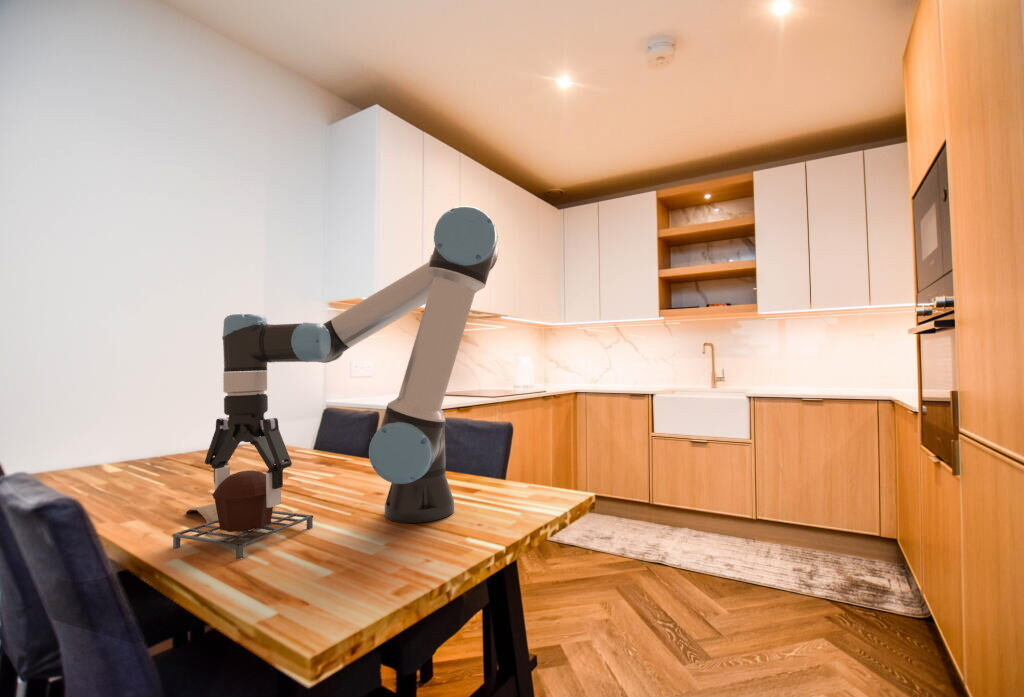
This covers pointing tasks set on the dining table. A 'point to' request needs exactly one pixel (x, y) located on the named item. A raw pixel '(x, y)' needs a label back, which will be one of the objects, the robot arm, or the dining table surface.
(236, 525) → the muffin
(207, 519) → the curved bark piece
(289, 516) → the cooling rack
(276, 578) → the dining table surface
